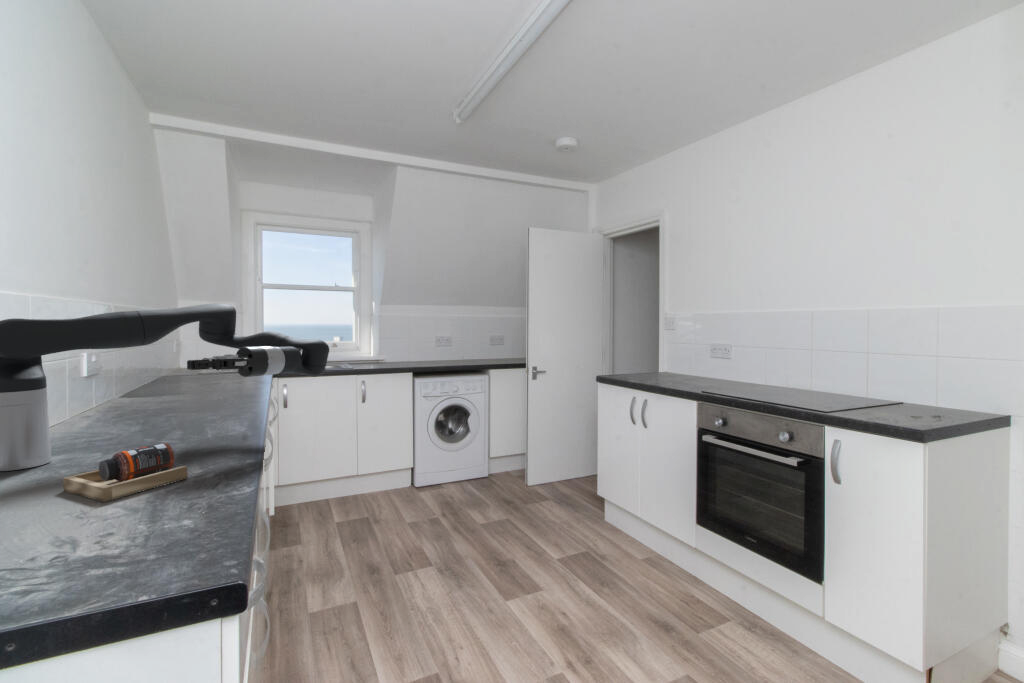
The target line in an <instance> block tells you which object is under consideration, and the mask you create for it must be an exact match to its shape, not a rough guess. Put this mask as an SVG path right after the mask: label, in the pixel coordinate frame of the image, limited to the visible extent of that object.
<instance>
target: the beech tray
mask: <svg viewBox="0 0 1024 683" xmlns="http://www.w3.org/2000/svg"><path fill="white" fill-rule="evenodd" d="M188 474H189V472H188V466H185V465H181V466H178V467H175V468H171V469H170V470H166V471H162V472H158V473H154V474H150V475H147V476H143V477H139V478H135V479H131V480H127V481H123V482H119V481H117V480H115V479H113V480H109V481H103V480H102V479H101V477H100V474H99V469H96V470H92V471H87V472H82V473H79V474H74V475H70V476H65V477H63V478H62V481H63V482H62V483H63V484H62V485H63V491H64V492H67V493H70V494H74V495H76V494H77V496H80V497H83V496H84V498H87V497H88V498H87V499H90V498H92V499H91V500H94V499H96V500H95V501H97V500H99V502H101V501H102V503H108V502H111V501H110V500H112V501H114V500H113V499H115V500H118V499H117V498H119V499H121V498H120V497H122V498H124V497H123V496H126V495H129V496H131V495H130V494H133V493H136V492H139V491H143V490H147V489H150V490H152V489H151V488H154V487H157V486H161V485H164V484H168V483H171V484H173V483H172V482H175V481H179V482H181V481H180V480H182V481H184V480H183V479H186V480H188V479H189V475H188ZM187 478H188V479H187ZM175 483H176V482H175ZM168 485H169V484H168ZM164 486H165V485H164ZM161 487H162V486H161ZM157 488H158V487H157ZM154 489H155V488H154ZM147 491H148V490H147ZM143 492H144V491H143ZM136 494H137V493H136ZM133 495H134V494H133ZM126 497H127V496H126ZM107 501H108V502H107Z"/></svg>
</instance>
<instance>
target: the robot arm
mask: <svg viewBox="0 0 1024 683" xmlns="http://www.w3.org/2000/svg"><path fill="white" fill-rule="evenodd" d="M197 322H198V335H199V338H200V339H201V340H202V341H204V342H207V343H209V344H212V345H216V346H217V345H218V346H222V347H227V348H232V349H237V352H236V354H223V355H213V356H212V357H204V358H202V359H188V360H187V361H186V369H187V370H188V371H197V370H210V371H216V372H217V371H219V372H223V371H224V372H227V371H228V372H229V371H231V372H237V373H238V374H239V375H240V376H241V377H244V378H249V377H251V378H252V377H253V378H254V377H260V376H261V377H263V376H271V375H277V374H287V373H290V374H291V373H293V374H300V375H304V376H308V377H320V376H321V375H322V374H323V373H324V372H325V371H326V367H327V363H328V358H329V354H330V346H329V345H328V344H327V343H326V341H324V340H321V339H301V338H296V337H292V336H289V335H286V334H284V333H283V334H282V333H280V332H277V331H263V332H259V333H255V334H251V335H247V336H246V335H243V336H242V335H240V334H237V333H236V329H237V328H236V327H237V326H236V325H237V310H236V308H235V307H234V306H232V305H230V304H227V303H206V304H198V305H193V306H192V305H190V306H184V307H177V308H176V307H175V308H166V309H165V308H164V309H162V308H161V309H150V310H149V309H148V310H145V309H142V310H127V311H126V310H125V311H115V312H114V311H113V312H105V313H99V314H92V315H89V316H88V315H87V316H83V317H78V318H76V317H75V318H67V319H66V318H63V319H62V318H61V319H54V318H53V319H43V318H42V319H36V318H35V319H33V318H32V319H31V318H7V319H2V320H0V472H9V471H17V470H23V469H24V470H26V469H30V468H35V467H39V466H43V465H45V464H48V463H51V462H52V449H51V434H50V420H49V419H50V418H49V417H50V416H49V415H50V414H49V403H48V391H47V390H48V388H47V386H48V385H47V376H46V375H45V371H44V367H43V360H42V357H43V356H46V355H50V354H51V355H52V354H57V353H63V352H69V351H75V350H76V351H77V350H109V349H125V348H135V347H143V346H148V345H151V344H154V343H155V342H158V341H159V340H162V339H163V338H165V337H166V336H167V335H169V334H171V333H172V332H174V331H175V330H177V329H179V328H182V327H184V326H186V325H188V324H192V323H197Z"/></svg>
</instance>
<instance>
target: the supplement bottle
mask: <svg viewBox="0 0 1024 683" xmlns="http://www.w3.org/2000/svg"><path fill="white" fill-rule="evenodd" d="M174 452H175V451H174V450H173V448H172V446H171V445H170V444H169V443H167V442H162V443H156V444H150V445H146V446H141V447H136V448H131V449H127V450H123V451H119V452H116V453H115V454H114V455H113V456H112V457H111V458H107V459H104V460H101V461H100V462H99V464H98V470H99V474H100V477H101V479H102V480H103V481H109V480H113V479H115V480H117V481H119V482H123V481H127V480H131V479H135V478H139V477H143V476H147V475H150V474H154V473H158V472H162V471H166V470H170V469H173V467H174V464H175V459H176V458H175V453H174Z"/></svg>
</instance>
